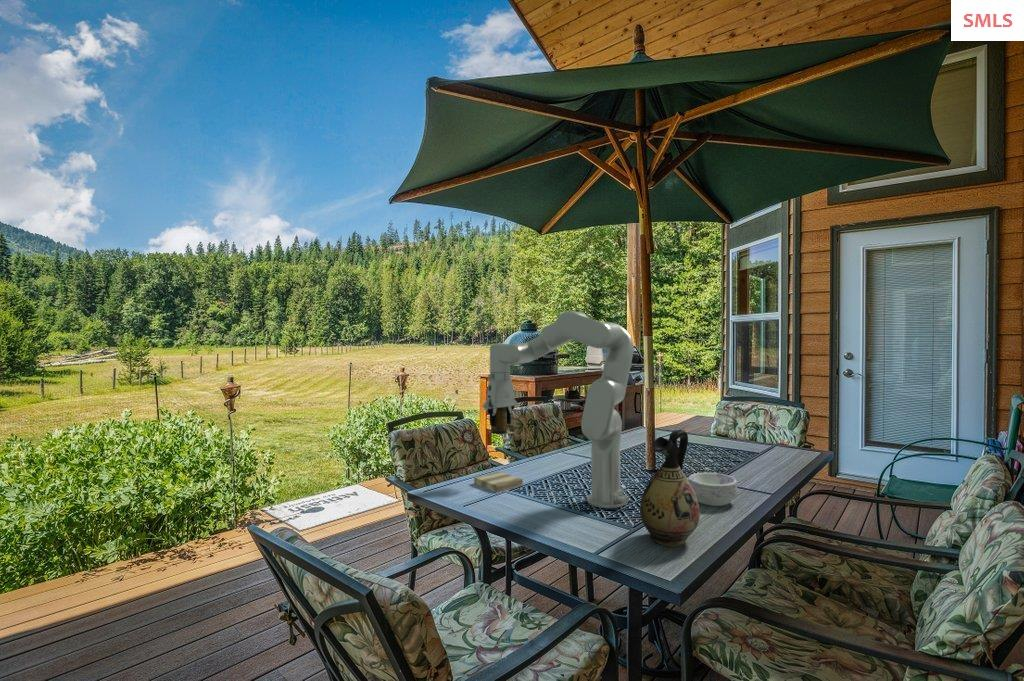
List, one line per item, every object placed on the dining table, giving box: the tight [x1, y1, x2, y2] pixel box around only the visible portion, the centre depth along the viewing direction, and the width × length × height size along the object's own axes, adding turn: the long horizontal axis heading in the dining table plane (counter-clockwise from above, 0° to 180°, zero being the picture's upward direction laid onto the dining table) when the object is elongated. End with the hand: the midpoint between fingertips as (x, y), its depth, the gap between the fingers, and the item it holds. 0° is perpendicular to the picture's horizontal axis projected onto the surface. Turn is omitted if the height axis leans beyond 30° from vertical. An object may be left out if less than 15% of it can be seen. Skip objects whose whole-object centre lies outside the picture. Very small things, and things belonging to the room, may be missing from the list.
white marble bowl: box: [687, 472, 739, 507], centre depth 166 cm, size 15×15×8 cm
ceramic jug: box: [639, 429, 700, 548], centre depth 136 cm, size 17×15×30 cm
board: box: [473, 471, 524, 493], centre depth 186 cm, size 14×12×2 cm
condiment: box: [486, 407, 515, 436], centre depth 186 cm, size 7×8×12 cm
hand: (500, 424), depth 186 cm, fingers closed on condiment, 6 cm apart
